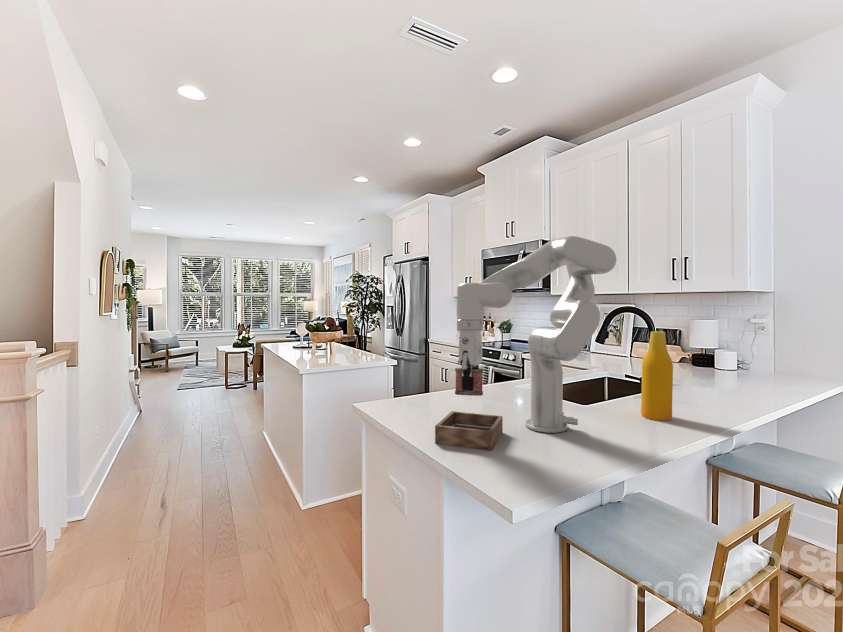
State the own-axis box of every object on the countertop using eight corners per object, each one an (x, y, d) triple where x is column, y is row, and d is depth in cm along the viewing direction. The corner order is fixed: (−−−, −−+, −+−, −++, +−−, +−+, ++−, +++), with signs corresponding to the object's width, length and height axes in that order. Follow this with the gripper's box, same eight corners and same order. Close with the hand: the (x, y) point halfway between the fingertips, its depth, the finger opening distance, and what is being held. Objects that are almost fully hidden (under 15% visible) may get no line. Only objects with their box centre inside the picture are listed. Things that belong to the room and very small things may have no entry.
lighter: (482, 393, 122) (483, 359, 121) (482, 396, 118) (483, 361, 118) (455, 392, 123) (455, 358, 123) (454, 394, 119) (455, 360, 119)
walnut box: (502, 432, 126) (502, 416, 126) (491, 450, 111) (491, 432, 111) (451, 426, 132) (451, 411, 131) (435, 443, 117) (435, 425, 116)
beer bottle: (678, 421, 136) (680, 333, 135) (649, 421, 136) (650, 333, 135) (662, 413, 145) (664, 330, 144) (635, 413, 146) (637, 330, 144)
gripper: (475, 328, 111) (475, 396, 111) (488, 324, 126) (488, 384, 127) (449, 327, 113) (448, 393, 114) (464, 323, 129) (464, 382, 130)
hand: (469, 388), depth 121 cm, fingers closed on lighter, 3 cm apart
